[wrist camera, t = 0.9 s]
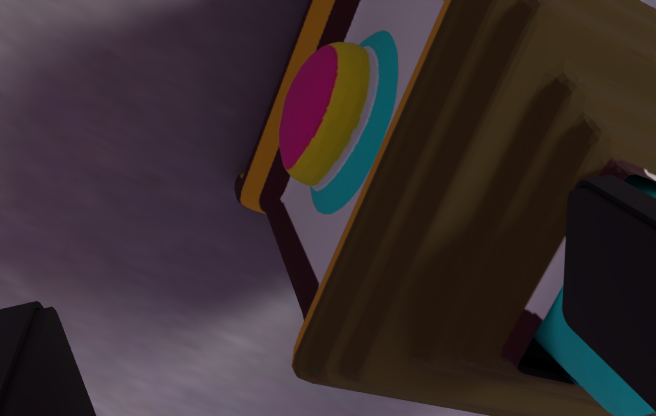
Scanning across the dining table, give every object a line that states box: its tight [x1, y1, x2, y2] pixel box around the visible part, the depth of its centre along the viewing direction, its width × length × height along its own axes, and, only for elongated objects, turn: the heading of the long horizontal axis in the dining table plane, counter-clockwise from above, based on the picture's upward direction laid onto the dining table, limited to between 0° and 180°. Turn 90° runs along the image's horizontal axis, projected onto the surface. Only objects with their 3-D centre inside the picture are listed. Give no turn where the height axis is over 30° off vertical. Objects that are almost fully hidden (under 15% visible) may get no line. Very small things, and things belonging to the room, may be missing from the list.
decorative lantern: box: [235, 0, 656, 416], centre depth 28 cm, size 20×20×30 cm
